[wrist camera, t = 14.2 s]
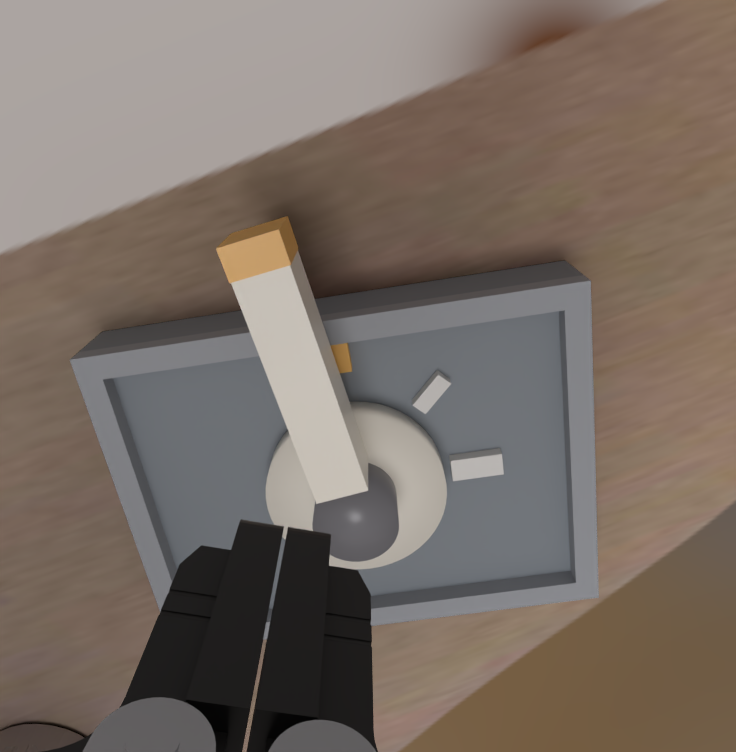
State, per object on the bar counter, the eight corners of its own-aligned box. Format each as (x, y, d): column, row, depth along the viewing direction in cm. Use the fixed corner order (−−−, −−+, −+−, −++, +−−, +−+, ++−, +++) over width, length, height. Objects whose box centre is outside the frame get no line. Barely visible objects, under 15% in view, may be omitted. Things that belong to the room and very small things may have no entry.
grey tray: (576, 551, 39) (598, 597, 36) (191, 600, 41) (174, 650, 37) (564, 260, 33) (590, 280, 29) (101, 331, 34) (69, 359, 30)
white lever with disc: (461, 528, 35) (474, 586, 31) (302, 567, 36) (293, 629, 32) (362, 188, 28) (362, 203, 24) (169, 248, 29) (136, 272, 25)
